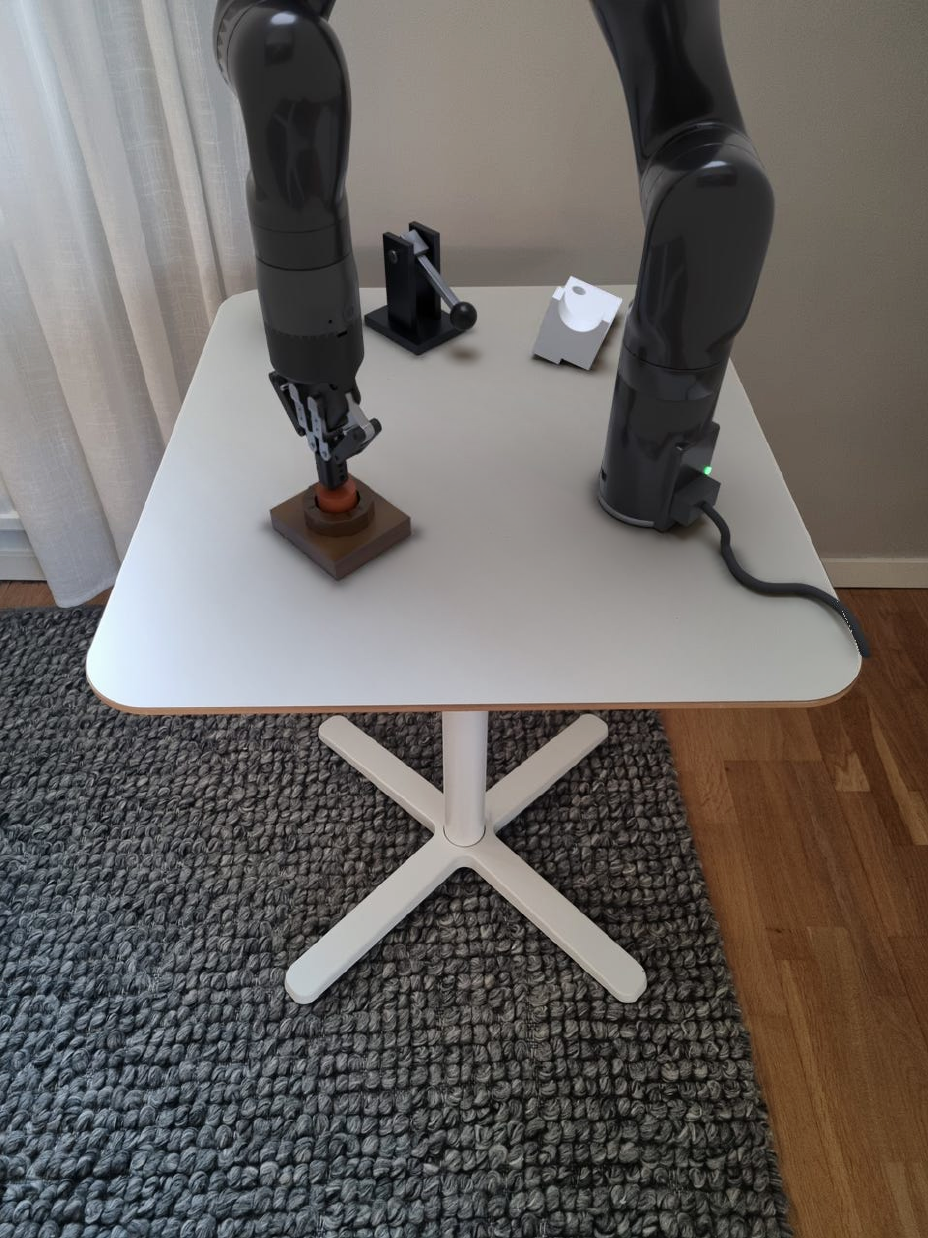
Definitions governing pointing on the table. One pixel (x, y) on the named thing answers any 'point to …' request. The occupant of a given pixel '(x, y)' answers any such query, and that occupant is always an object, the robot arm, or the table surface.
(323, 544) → the button block
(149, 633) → the table surface
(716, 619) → the table surface
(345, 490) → the button
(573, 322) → the bracket
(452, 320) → the ball knob lever
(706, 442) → the robot arm
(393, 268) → the lever bracket
